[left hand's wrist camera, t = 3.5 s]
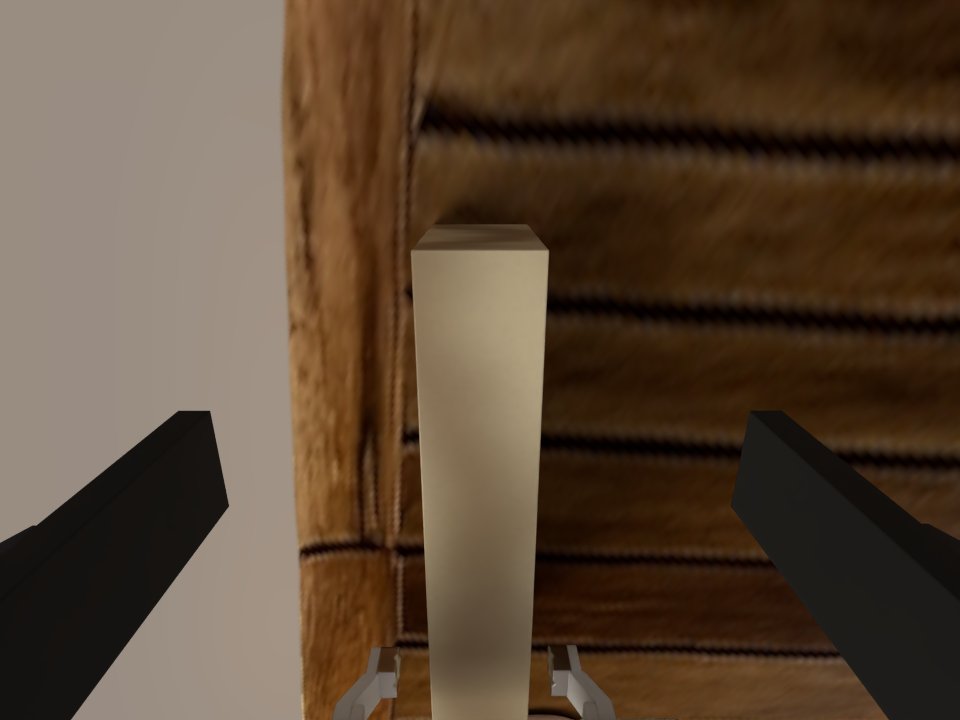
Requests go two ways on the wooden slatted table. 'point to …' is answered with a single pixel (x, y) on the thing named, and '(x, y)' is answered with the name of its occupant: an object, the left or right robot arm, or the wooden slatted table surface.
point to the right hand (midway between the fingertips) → (474, 653)
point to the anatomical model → (546, 717)
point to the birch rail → (480, 458)
